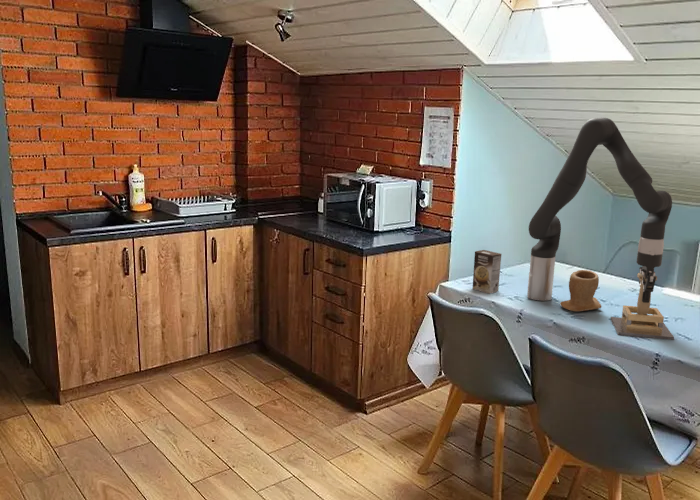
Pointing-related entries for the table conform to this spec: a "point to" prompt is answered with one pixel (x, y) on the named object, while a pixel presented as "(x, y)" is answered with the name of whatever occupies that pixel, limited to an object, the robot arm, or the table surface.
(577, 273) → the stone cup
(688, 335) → the table surface
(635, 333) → the collar stand
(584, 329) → the table surface
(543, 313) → the table surface
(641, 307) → the handle
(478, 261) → the coffee box
